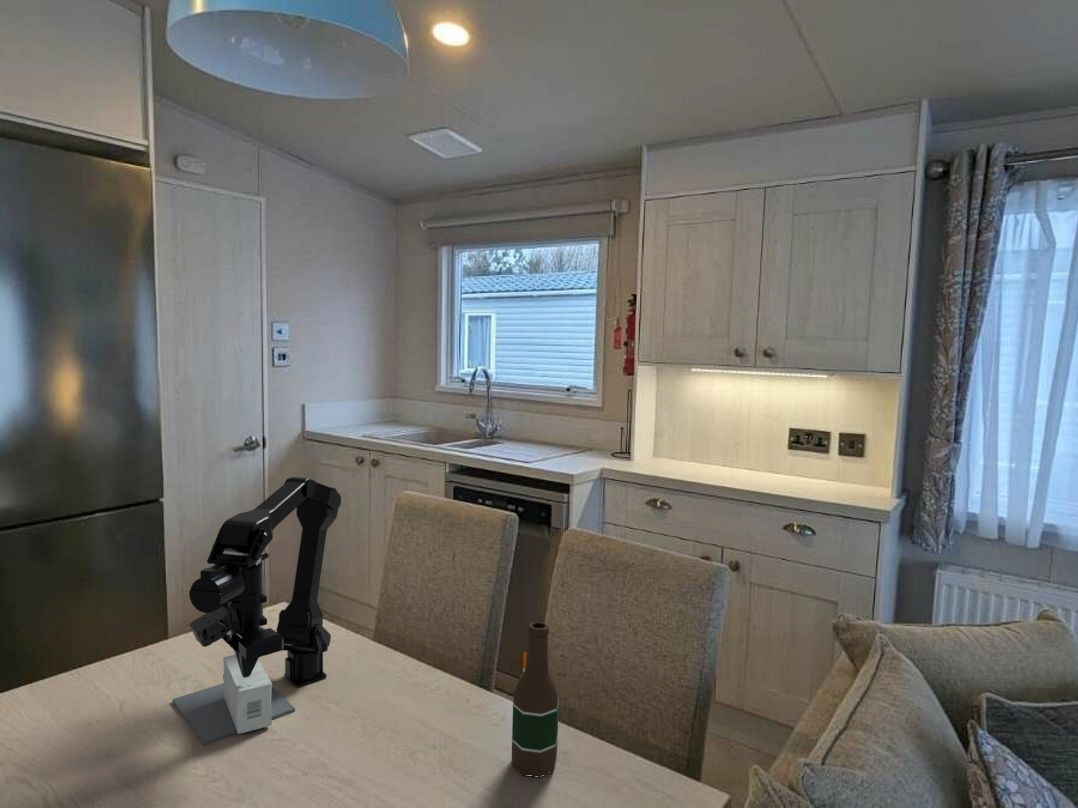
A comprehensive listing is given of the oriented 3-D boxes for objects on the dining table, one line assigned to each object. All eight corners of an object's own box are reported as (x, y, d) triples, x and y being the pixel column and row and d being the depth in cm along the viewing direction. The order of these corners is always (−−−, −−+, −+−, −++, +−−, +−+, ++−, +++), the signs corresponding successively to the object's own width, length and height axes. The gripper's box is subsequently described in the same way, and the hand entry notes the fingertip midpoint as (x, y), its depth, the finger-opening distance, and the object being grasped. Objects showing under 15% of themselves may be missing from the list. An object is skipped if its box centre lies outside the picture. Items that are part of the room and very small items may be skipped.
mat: (257, 675, 139) (257, 672, 139) (294, 711, 126) (294, 708, 126) (172, 702, 128) (172, 699, 128) (203, 744, 115) (203, 741, 115)
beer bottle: (541, 785, 106) (546, 639, 104) (501, 768, 111) (505, 627, 108) (566, 760, 113) (571, 622, 111) (527, 744, 117) (531, 611, 115)
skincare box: (272, 683, 119) (256, 647, 131) (235, 692, 116) (222, 654, 128) (272, 728, 120) (256, 688, 132) (235, 737, 117) (222, 696, 129)
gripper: (177, 586, 118) (179, 671, 119) (214, 619, 105) (215, 715, 106) (243, 572, 126) (244, 652, 127) (284, 602, 112) (285, 691, 114)
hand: (246, 676), depth 118 cm, fingers closed
